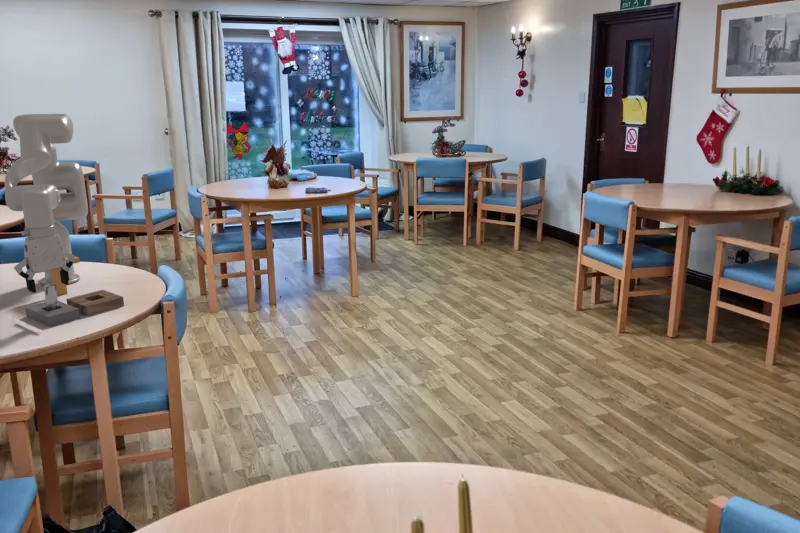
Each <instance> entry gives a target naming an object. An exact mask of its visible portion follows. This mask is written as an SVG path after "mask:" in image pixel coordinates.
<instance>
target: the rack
mask: <svg viewBox="0 0 800 533" xmlns="http://www.w3.org/2000/svg"><path fill="white" fill-rule="evenodd" d="M25 313H26V317H27V318H29V319H31V320H33V321H36V322H39V323H40V324H43V325H45V326H47V327H50V328H51V327H54V326H57V325H61V324H65V323H68V322H69V323H70V322H71V321H75V320H79V319H80V318H81V317H80V313H79V309H78V308H75V307H73V306H70V305H68V304H67V303H65V302H62V301H60V300H58V309H56V310H52V311H49V312H48V311H47V309H46V301H44V302H42V303H41V302H40V303H36V304H33V305H29V306H25Z"/></svg>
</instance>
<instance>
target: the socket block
mask: <svg viewBox="0 0 800 533" xmlns="http://www.w3.org/2000/svg"><path fill="white" fill-rule="evenodd" d="M124 302H125V299H124V296H122V295H119V294H117V293H113V292H111V291H108V290H105V289H100V290H96V291H93V292H89V293H88V292H87V293H84V294H81V295H77V296H73V297H69V298H66V304H68V305H70V306H73V307H75V308H78V309H79V314H81V315H84V316H87V317H90V316H93V315H98V314H100V313H104V312H107V311H111V310H114V309H119V308H121V307H125V303H124Z"/></svg>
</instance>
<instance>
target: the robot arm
mask: <svg viewBox="0 0 800 533" xmlns="http://www.w3.org/2000/svg"><path fill="white" fill-rule="evenodd" d="M12 126H13V128H14V129H13V130H14V131H15V132H16V135H17V136H18V138H19V148H20V149H19V151H20V152H19V153H20V157H19V158H18V159H17V160H16V161H14V162H13V163H12V165H11V166H10V167H9V168H8V170H7V172H6V175H5V177H4V199H5V200H4V201H5V205H7V208H9V209H10V210H11V211H13V212H22V213H23V214H22V215H23V218H24V230H23V231H22V230H21V232H20V233H21V236H23V237H24V236H25V238H24V250H23V251H24V259H23V260H21V261H20V262H18V263H17V264H16V265H15V266H13V269H14V270H15V272H16V273H17V275H19V276H20V277H22V278H23V279H25V282H26V287H27V291H29V292H30V293H33V294H35V293H36V292H37V288H36V286H37V285H36V282H35V279H33V278H34V276H35V275H36V274H39V273H44V277H42V278H41V279H40V284H41V285H43V286H44V285H47V284H53V283H52V276H51V270H54V269H58V268H60V269H61V270H60V277H61V283H63V284H66V286H68V285H70V284H74V283H76V282H78V281H80V279H81V277H80V275H79V274H78V273H75V267H74V266H75V265H74V264H73V261H74V258H75V257H76V255H75V254H72V253H73V252H72V245H71V244H72V243H71V237H70V233H69V230H68V229H67V227H66V226H64V225H63V223H61V222H63V221H72V220H75V221H76V220H82V219H85V218H87V216H88V214H89V206H88V198H87V192H86V191H87V190H86V183H85V182H86V181H85V177H84V176H85V175H84V172H83V169H82V166H81V165H80V164H79V163H77V162H75V161H58V155H57V154H58V153H57V148H56V146H55V145H54V144H69V143H71V141H72V140H73V136H74V123H73V120H72V118H71V117H70V115H69V114H67V113H28V114H20V115H17V116H15V117H14V118H13V120H12ZM29 176H31V178H32V182H33V184H26V185H25V184H24V185H23V184H22V185H21V184H19V182H20V181H22V180H24V179H25V178H27V177H29ZM18 184H19V185H18ZM64 190H67V191H70V192H60V191H64ZM66 257H68V261H67V262H66ZM24 267H25V268H26V271H25V272H24V270H23V268H24Z"/></svg>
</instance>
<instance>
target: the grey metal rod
mask: <svg viewBox="0 0 800 533" xmlns="http://www.w3.org/2000/svg"><path fill="white" fill-rule="evenodd" d="M43 290H44V299H45V302H46V309H47V311H48V312H49V311H52V310H56V309H58V301H59V299H58V297H57V290H56V285H55V284H47V285H43Z"/></svg>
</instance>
